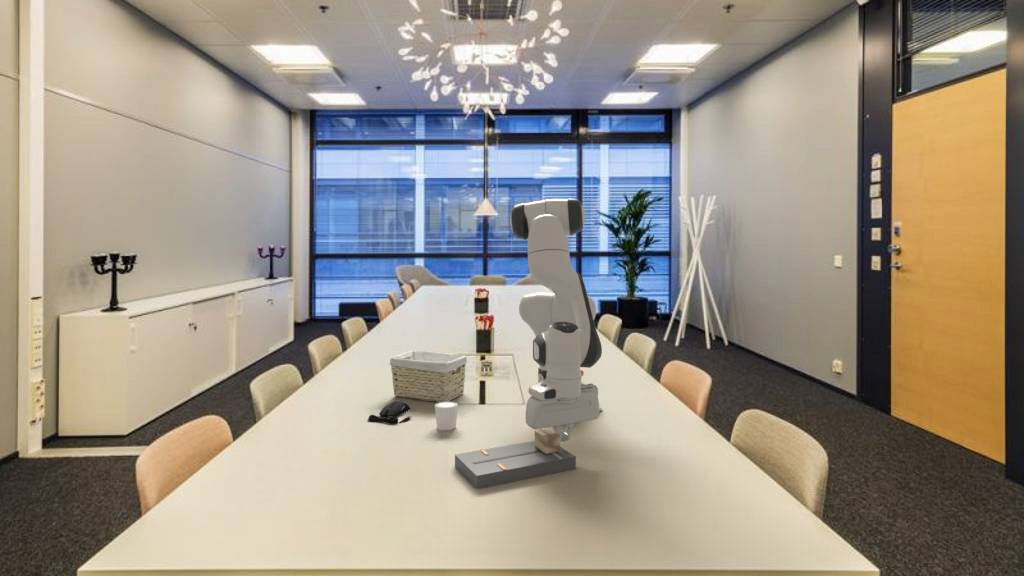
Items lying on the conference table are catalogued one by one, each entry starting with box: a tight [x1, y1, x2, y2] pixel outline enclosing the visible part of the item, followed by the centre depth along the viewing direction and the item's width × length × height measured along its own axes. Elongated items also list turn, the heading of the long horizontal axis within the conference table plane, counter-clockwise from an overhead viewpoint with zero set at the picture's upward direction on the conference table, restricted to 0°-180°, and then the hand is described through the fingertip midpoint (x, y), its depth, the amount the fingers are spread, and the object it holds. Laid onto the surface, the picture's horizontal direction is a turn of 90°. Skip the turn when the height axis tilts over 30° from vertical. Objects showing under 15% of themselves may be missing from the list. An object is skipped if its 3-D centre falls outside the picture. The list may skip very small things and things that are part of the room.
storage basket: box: [389, 349, 468, 403], centre depth 199 cm, size 24×16×15 cm
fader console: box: [454, 440, 577, 490], centre depth 135 cm, size 26×14×3 cm, turn 116°
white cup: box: [434, 401, 459, 431], centre depth 164 cm, size 7×7×7 cm
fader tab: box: [533, 427, 561, 454], centre depth 138 cm, size 4×6×4 cm, turn 26°
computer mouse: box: [367, 400, 413, 425], centre depth 176 cm, size 12×18×4 cm
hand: (563, 440), depth 140 cm, fingers closed
